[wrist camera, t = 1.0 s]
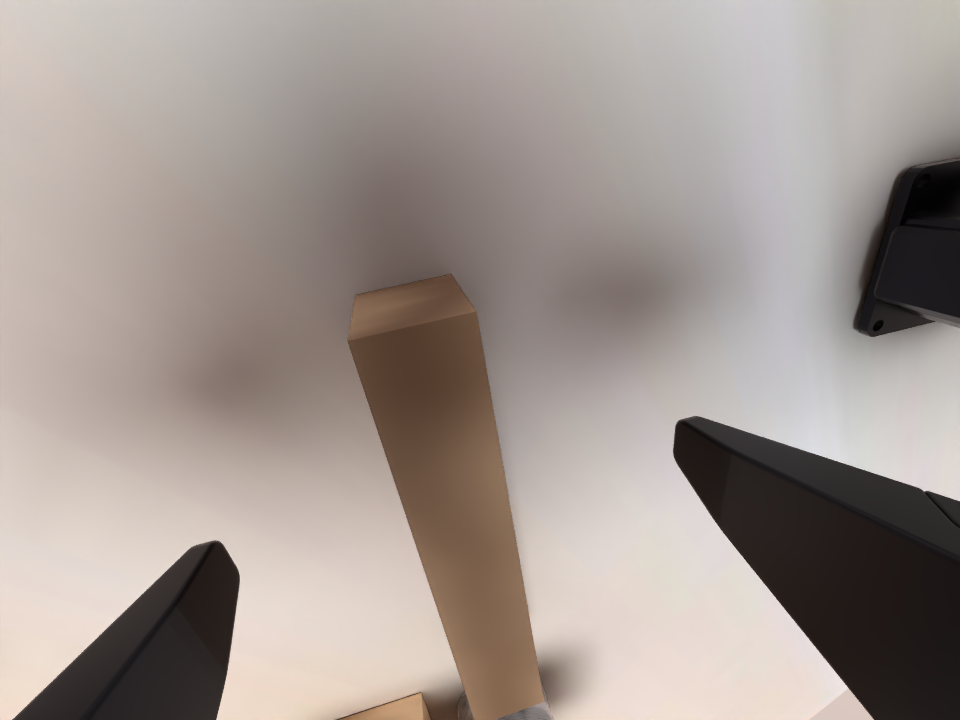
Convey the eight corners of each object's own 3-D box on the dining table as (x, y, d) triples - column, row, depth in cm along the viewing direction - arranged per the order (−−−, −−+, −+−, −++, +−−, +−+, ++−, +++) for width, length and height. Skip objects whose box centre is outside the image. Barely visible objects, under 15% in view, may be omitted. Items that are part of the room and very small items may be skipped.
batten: (449, 272, 13) (476, 311, 10) (516, 613, 21) (544, 701, 18) (355, 292, 13) (347, 340, 9) (459, 631, 21) (476, 726, 18)
